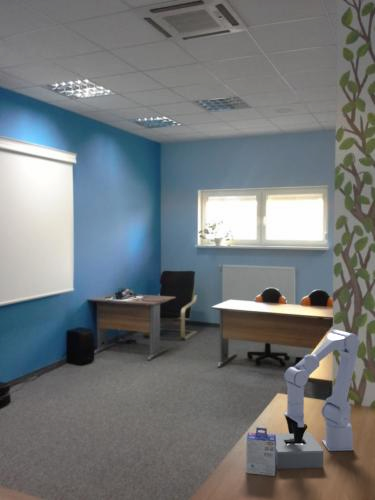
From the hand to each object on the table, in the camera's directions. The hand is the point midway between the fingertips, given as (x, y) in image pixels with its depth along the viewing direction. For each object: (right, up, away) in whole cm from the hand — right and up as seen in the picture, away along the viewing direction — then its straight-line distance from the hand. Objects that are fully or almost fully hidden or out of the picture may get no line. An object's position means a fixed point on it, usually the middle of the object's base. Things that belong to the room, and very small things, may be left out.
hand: (295, 438), depth 169 cm
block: (0, -8, +1) cm, 8 cm away
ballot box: (0, -7, 0) cm, 7 cm away
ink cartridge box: (-14, -8, -8) cm, 18 cm away
